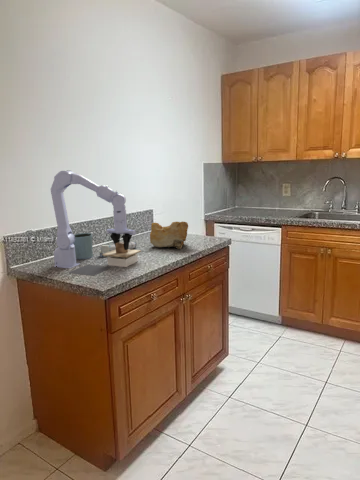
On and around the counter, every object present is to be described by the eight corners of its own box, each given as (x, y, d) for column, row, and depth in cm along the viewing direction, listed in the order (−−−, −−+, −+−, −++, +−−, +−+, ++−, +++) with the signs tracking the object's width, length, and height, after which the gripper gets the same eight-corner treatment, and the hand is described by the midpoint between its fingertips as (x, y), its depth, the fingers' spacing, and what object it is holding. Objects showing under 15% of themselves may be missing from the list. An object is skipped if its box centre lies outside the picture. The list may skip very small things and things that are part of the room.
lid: (102, 255, 167) (101, 244, 166) (118, 249, 179) (117, 239, 178) (126, 257, 162) (125, 246, 161) (141, 251, 173) (140, 241, 172)
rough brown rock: (198, 246, 206) (198, 220, 205) (184, 250, 192) (183, 222, 190) (163, 244, 218) (163, 219, 216) (147, 248, 204) (147, 221, 202)
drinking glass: (97, 256, 189) (95, 233, 186) (87, 261, 179) (85, 237, 177) (80, 255, 192) (78, 232, 189) (69, 260, 182) (67, 236, 180)
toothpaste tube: (137, 241, 203) (104, 244, 182) (137, 253, 203) (104, 257, 183) (130, 240, 206) (97, 243, 185) (130, 252, 206) (96, 256, 186)
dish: (108, 266, 169) (107, 257, 168) (119, 260, 178) (119, 252, 177) (126, 267, 165) (125, 259, 164) (137, 262, 174) (137, 254, 173)
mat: (67, 273, 159) (67, 272, 159) (87, 265, 171) (87, 264, 171) (93, 276, 153) (93, 275, 153) (112, 268, 166) (112, 266, 165)
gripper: (101, 221, 167) (104, 250, 169) (129, 222, 161) (131, 252, 163) (110, 218, 173) (112, 246, 176) (137, 219, 167) (139, 248, 170)
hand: (122, 249), depth 170 cm, fingers closed on lid, 4 cm apart
